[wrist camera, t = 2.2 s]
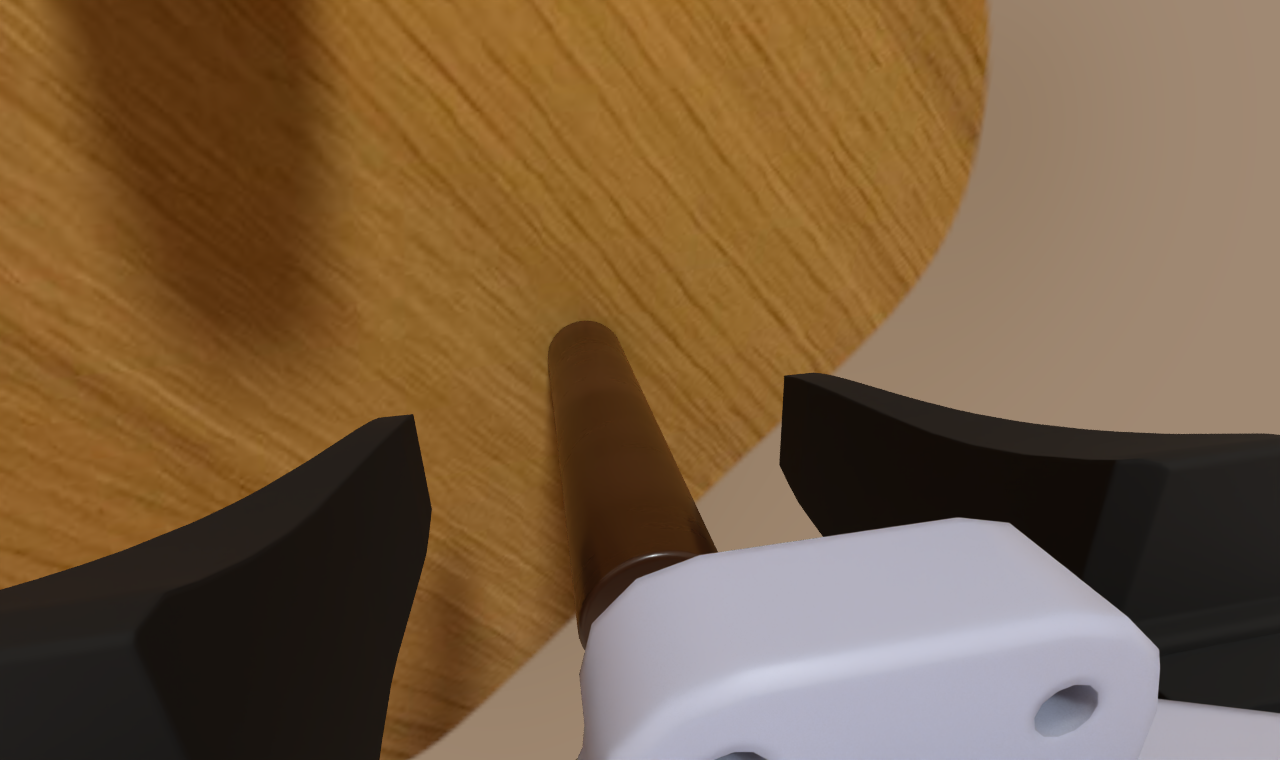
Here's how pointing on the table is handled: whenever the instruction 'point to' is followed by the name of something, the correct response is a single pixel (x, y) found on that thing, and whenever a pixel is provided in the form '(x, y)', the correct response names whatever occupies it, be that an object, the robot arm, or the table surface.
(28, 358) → the table surface
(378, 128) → the table surface
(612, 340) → the stirring stick
